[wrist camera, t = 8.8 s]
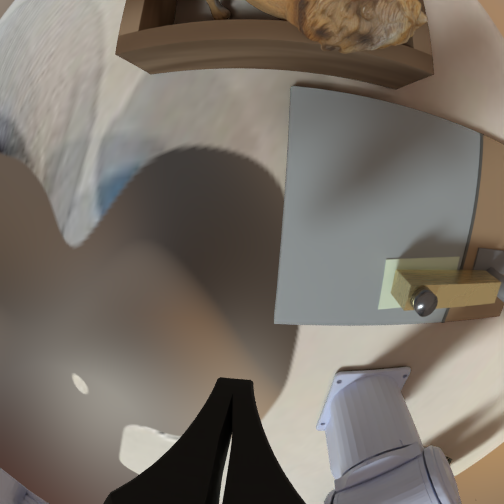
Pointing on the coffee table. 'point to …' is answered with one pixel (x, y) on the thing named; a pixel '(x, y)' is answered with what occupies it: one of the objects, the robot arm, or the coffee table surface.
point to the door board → (382, 209)
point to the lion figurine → (343, 20)
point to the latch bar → (443, 289)
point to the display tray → (259, 47)
